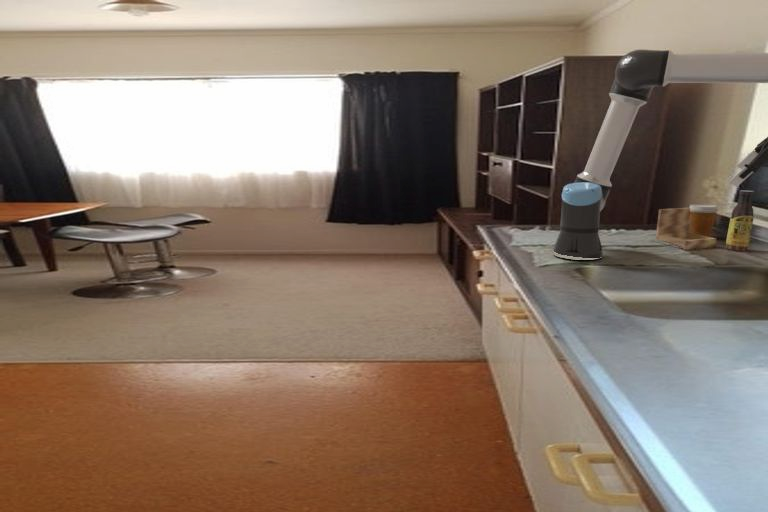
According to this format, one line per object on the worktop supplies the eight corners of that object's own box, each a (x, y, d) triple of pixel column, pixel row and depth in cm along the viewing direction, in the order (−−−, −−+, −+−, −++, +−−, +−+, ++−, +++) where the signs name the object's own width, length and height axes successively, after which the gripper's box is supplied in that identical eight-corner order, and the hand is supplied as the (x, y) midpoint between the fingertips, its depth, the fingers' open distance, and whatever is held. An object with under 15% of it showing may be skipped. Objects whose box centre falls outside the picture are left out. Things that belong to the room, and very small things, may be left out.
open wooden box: (684, 249, 167) (689, 214, 165) (655, 241, 180) (658, 209, 177) (715, 246, 170) (720, 212, 167) (684, 239, 183) (688, 207, 180)
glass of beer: (686, 233, 194) (690, 203, 191) (715, 236, 189) (719, 204, 186) (683, 237, 187) (687, 206, 184) (713, 240, 181) (718, 207, 178)
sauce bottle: (730, 251, 163) (739, 191, 158) (721, 247, 169) (729, 189, 164) (752, 252, 162) (761, 191, 157) (742, 248, 168) (751, 189, 163)
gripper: (804, 144, 133) (740, 198, 148) (812, 116, 148) (753, 168, 164) (778, 128, 134) (718, 183, 150) (789, 102, 150) (733, 155, 166)
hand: (736, 175), depth 157 cm, fingers open, 13 cm apart
